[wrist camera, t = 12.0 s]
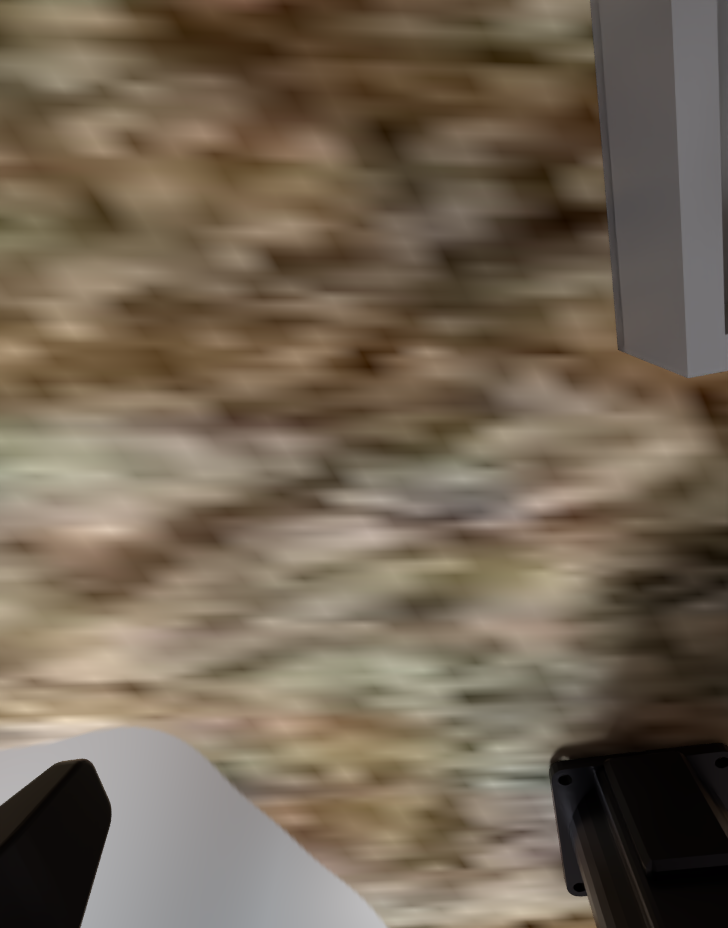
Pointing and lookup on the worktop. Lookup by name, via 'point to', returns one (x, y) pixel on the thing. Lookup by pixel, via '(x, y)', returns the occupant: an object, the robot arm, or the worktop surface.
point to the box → (666, 176)
